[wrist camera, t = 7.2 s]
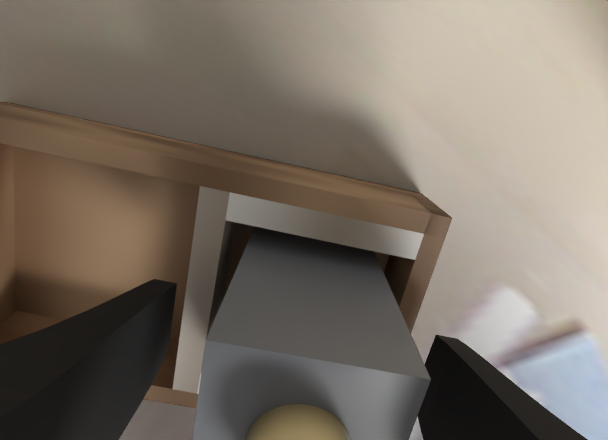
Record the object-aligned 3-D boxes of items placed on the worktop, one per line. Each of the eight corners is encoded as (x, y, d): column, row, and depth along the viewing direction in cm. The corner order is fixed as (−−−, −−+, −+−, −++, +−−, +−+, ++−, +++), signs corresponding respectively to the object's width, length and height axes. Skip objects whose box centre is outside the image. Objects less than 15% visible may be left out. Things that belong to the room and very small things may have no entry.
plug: (239, 322, 14) (164, 562, 7) (256, 222, 13) (187, 382, 5) (344, 341, 14) (382, 594, 7) (370, 244, 13) (452, 426, 6)
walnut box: (10, 313, 14) (-58, 362, 12) (4, 101, 12) (-83, 101, 9) (360, 380, 15) (372, 439, 12) (421, 193, 13) (452, 218, 10)
